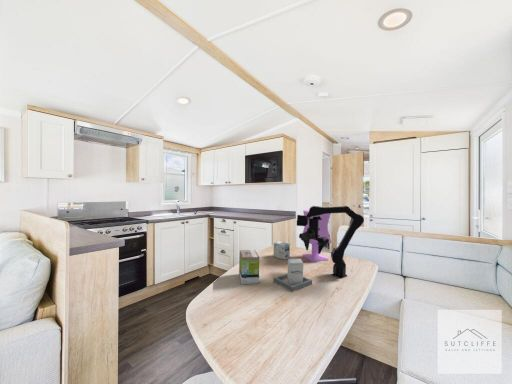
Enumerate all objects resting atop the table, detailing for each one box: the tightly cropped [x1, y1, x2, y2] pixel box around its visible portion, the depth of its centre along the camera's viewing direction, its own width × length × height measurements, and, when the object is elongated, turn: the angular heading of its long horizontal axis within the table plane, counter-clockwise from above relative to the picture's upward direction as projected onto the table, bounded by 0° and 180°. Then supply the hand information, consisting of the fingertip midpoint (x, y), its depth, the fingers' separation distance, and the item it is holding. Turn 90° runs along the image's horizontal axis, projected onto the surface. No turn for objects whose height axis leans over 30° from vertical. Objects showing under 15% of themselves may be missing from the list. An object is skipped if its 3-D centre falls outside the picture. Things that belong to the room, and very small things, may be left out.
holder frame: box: [272, 272, 313, 293], centre depth 125 cm, size 15×15×2 cm
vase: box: [302, 209, 332, 263], centre depth 169 cm, size 16×16×35 cm
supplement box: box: [286, 258, 304, 285], centre depth 125 cm, size 7×7×13 cm
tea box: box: [238, 249, 261, 285], centre depth 130 cm, size 15×10×15 cm, turn 9°
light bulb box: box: [273, 240, 291, 260], centre depth 170 cm, size 11×7×11 cm, turn 47°
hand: (313, 251), depth 140 cm, fingers open, 9 cm apart
